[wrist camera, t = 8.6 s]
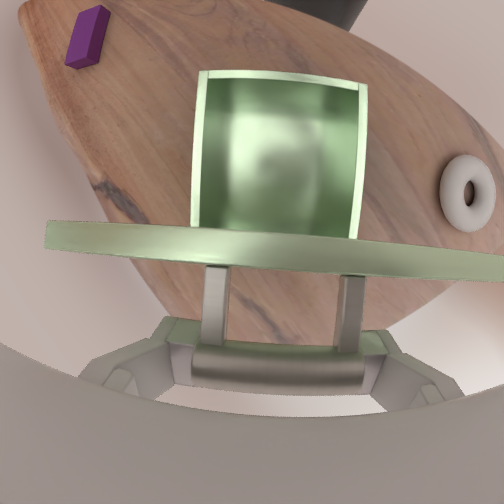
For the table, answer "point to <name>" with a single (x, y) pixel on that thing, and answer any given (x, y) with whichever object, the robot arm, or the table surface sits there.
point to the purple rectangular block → (87, 37)
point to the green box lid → (281, 259)
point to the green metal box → (278, 152)
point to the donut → (453, 193)
